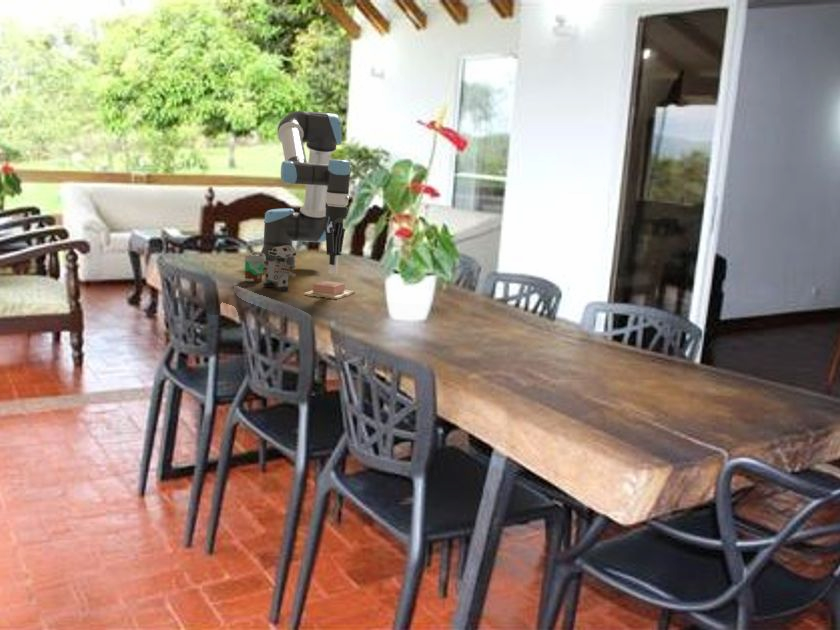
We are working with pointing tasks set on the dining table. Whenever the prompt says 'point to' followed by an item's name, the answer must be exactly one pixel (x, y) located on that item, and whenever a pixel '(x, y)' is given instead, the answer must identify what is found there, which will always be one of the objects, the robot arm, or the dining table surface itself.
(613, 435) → the dining table surface
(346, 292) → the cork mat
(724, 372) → the dining table surface
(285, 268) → the figurine
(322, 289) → the tile
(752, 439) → the dining table surface
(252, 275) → the food container
